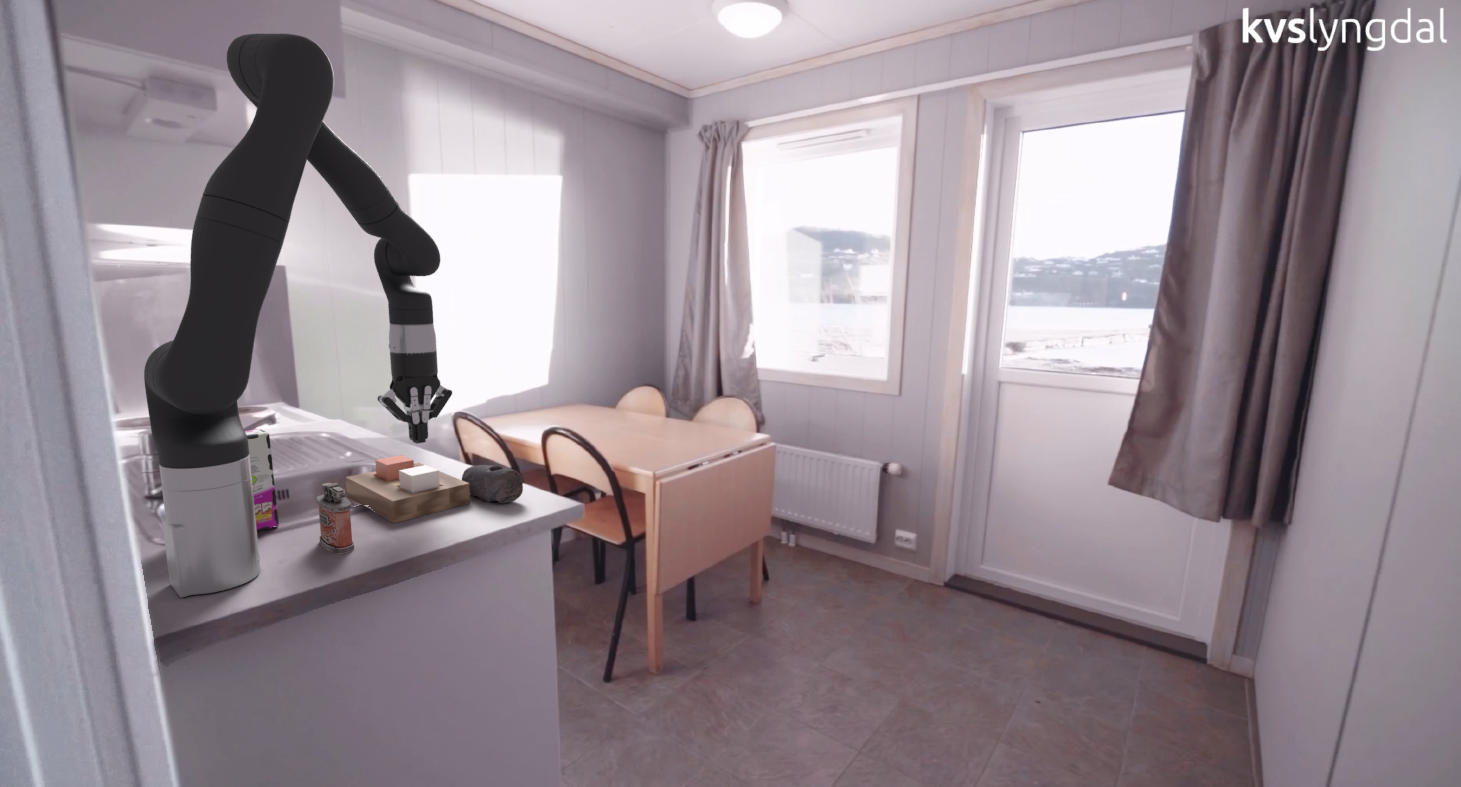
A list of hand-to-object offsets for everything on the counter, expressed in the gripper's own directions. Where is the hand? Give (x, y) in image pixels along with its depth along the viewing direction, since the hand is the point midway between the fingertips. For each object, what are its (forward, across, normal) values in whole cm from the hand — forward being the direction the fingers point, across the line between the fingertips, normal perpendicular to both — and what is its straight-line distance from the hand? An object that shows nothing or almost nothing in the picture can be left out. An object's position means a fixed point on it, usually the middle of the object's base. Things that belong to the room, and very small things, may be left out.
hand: (419, 442), depth 113 cm
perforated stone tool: (+13, +11, -5) cm, 17 cm away
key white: (+9, 0, 0) cm, 9 cm away
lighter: (+12, -17, -8) cm, 23 cm away
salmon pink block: (+9, 0, +10) cm, 14 cm away
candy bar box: (+12, -26, +9) cm, 30 cm away
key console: (+12, 0, +5) cm, 13 cm away
